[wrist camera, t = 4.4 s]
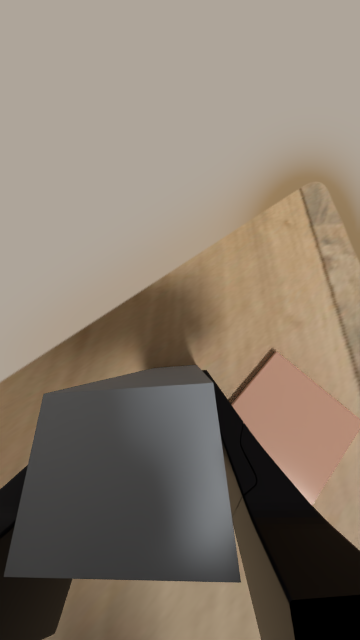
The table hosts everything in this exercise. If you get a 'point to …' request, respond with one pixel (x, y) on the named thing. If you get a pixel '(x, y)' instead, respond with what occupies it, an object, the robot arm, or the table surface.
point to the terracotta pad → (296, 424)
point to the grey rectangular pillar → (127, 484)
